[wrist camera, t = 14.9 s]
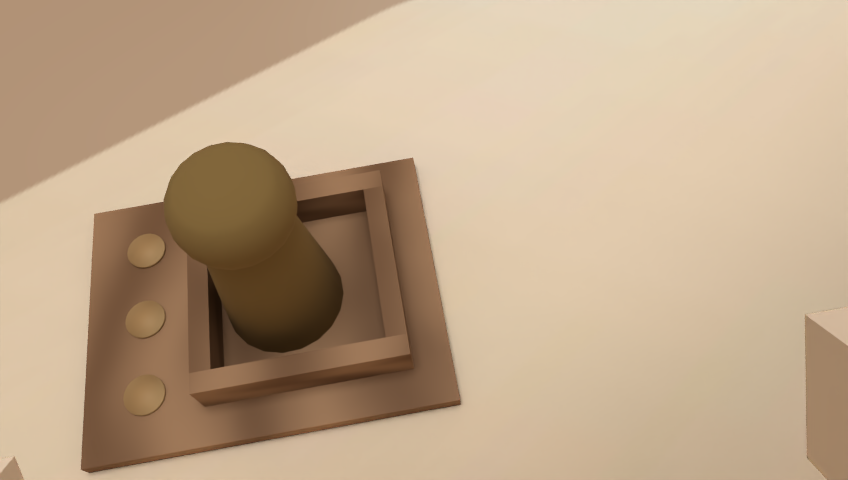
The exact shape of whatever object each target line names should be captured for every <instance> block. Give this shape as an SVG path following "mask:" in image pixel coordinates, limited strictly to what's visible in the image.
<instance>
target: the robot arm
mask: <svg viewBox="0 0 848 480" xmlns="http://www.w3.org/2000/svg"><path fill="white" fill-rule="evenodd" d="M805 355H806V426H807V458H808V460H809V461H810V462H811V463H812V464H813V465H814V466H815V467H816V468H817V469H818V470H819V471H820V472H821V473H822V474H823V476H824V477H825V478H826V479H827V480H848V307H844V308H838V309H833V310H827V311H822V312H816V313H810V314H805ZM0 480H24V479H23V476H22V474H21V471H20V469H19V466H18V464H17V461H16V459H15V456H13V457H7V458H2V459H0Z"/></svg>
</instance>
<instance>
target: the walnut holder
mask: <svg viewBox="0 0 848 480" xmlns="http://www.w3.org/2000/svg"><path fill="white" fill-rule="evenodd" d="M291 180H292V182H293V184H294V187H295V192H296V198H297V216H298V218H299V219H300V220H301V222H302V223H303V224H304V226H305V227H306V228H307V229H308V231H309V232H310V233H311V235H312V236H313V237H314V239H315V240H316V241H317V242H318V244H319V245H320V246H321V248H322V249H323V250H324V252H325V253H326V254H327V256H328V257H329V258H330V259H331V261H332V262H333V264H334V265H335V267H336V269H337V271H338V272H339V274H340V276H341V280H342V286H343V292H344V294H343V299H342V305H341V310H340V312H339V314H338V316H337V318H336V320H335V321H334V323H333V325H332V327H331V328H330V329H329V330H328V331H327V332H326V333H325V334H324V335H323V336H322V337H321V338H320V339H319V340H317V341H315V342H313V343H311V344H309V345H308V346H306V347H304V348H302V349H299V350H294V351H290V352H285V353H277V352H265V351H262V350H260V349H257V348H255V347H253V346H251V345H248V344H247V343H246V342H245V341H244V340H243V339H242V338H241V337H240V336H239V335H238V334H237V333H236V332H235V330H234V328H233V326H232V324H231V322H230V320H229V318H228V315H227V313H226V310H225V308H224V306H223V303H222V301H221V299H220V296H219V294H218V291H217V289H216V287H215V284H214V282H213V280H212V277H211V275H210V273H209V270H208V268H207V265H205V264H203V263H200V262H198V261H196V260H194V259H192V258H191V257H190V256H189V255H188V254H187V253H186V252H184V251H183V250H182V249H181V248H180V247H179V246H178V245H177V243H176V242H175V241H174V240H173V238H172V235H171V233H170V231H169V229H168V227H167V225H166V221H165V217H164V202H160V203H154V204H149V205H143V206H137V207H132V208H126V209H120V210H115V211H109V212H103V213H98V214H94V232H93V251H92V270H91V289H90V308H89V327H88V346H87V365H86V384H85V402H84V421H83V440H82V459H81V470H83V471H86V472H89V473H90V472H95V471H101V470H106V469H112V468H117V467H123V466H128V465H133V464H139V463H144V462H150V461H155V460H161V459H166V458H171V457H177V456H182V455H188V454H193V453H199V452H204V451H209V450H215V449H220V448H226V447H231V446H237V445H242V444H247V443H253V442H258V441H264V440H269V439H275V438H280V437H285V436H291V435H296V434H302V433H307V432H313V431H318V430H323V429H329V428H334V427H340V426H345V425H351V424H356V423H361V422H367V421H372V420H378V419H383V418H389V417H394V416H399V415H405V414H410V413H416V412H421V411H426V410H432V409H437V408H443V407H448V406H454V405H459V404H460V396H459V391H458V386H457V381H456V376H455V371H454V366H453V360H452V355H451V350H450V345H449V340H448V335H447V330H446V324H445V319H444V314H443V309H442V304H441V299H440V294H439V288H438V283H437V278H436V273H435V268H434V263H433V258H432V252H431V247H430V242H429V237H428V232H427V227H426V222H425V216H424V211H423V206H422V201H421V196H420V191H419V186H418V180H417V175H416V170H415V165H414V160H413V158H409V159H403V160H397V161H392V162H386V163H380V164H375V165H369V166H364V167H358V168H352V169H347V170H341V171H335V172H330V173H324V174H318V175H313V176H307V177H301V178H296V179H291Z"/></svg>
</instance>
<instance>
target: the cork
mask: <svg viewBox="0 0 848 480" xmlns="http://www.w3.org/2000/svg"><path fill="white" fill-rule="evenodd" d="M164 217H165V221H166V225H167V227H168V229H169V231H170V233H171V235H172V238H173V240H174V241H175V242H176V243H177V245H178V246H179V247H180V248H181V249H182V250H183V251H184V252H186V253H187V254H188V255H189V256H190V257H191V258H192V259H194V260H196V261H198V262H200V263H203V264H205V265H207V268H208V270H209V273H210V275H211V277H212V280H213V282H214V284H215V287H216V289H217V291H218V294H219V296H220V299H221V301H222V303H223V306H224V308H225V310H226V313H227V315H228V318H229V320H230V322H231V324H232V326H233V328H234V330H235V332H236V333H237V334H238V335H239V336H240V337H241V338H242V339H243V340H244V341H245V342H246V343H247V344H248V345H251V346H253V347H255V348H257V349H260V350H262V351H265V352H277V353H285V352H290V351H294V350H299V349H302V348H304V347H306V346H308V345H309V344H311V343H313V342H315V341H317V340H319V339H320V338H321V337H322V336H323V335H324V334H325V333H326V332H327V331H328V330H329V329H330V328H331V327H332V325H333V323H334V321H335V320H336V318H337V316H338V314H339V312H340V310H341V305H342V299H343V294H344V292H343V286H342V280H341V276H340V274H339V272H338V271H337V269H336V267H335V265H334V264H333V262H332V261H331V259H330V258H329V257H328V256H327V254H326V253H325V252H324V250H323V249H322V248H321V246H320V245H319V244H318V242H317V241H316V240H315V239H314V237H313V236H312V235H311V233H310V232H309V231H308V229H307V228H306V227H305V226H304V224H303V223H302V222H301V220H300V219H299V218H298V216H297V198H296V192H295V187H294V184H293V182H292V180H291V178H290V176H289V174H288V173H287V171H286V169H285V167H284V166H283V165H282V164H281V163H280V162H279V161H278V160H277V159H275V158H274V157H273V156H272V155H270V154H269V153H268V152H267V151H265V150H263V149H260V148H258V147H255V146H252V145H249V144H245V143H231V142H225V143H220V144H216V145H211V146H208V147H206V148H204V149H202V150H200V151H198V152H195V153H194V154H192V155H191V156H190V157H189V158H187V159H186V160H185V161H184V162H183V163H181V164H180V166H179V167H178V169H177V170H176V171H175V173H174V174H173V176H172V177H171V179H170V182H169V184H168V188H167V191H166V194H165V197H164Z"/></svg>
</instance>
